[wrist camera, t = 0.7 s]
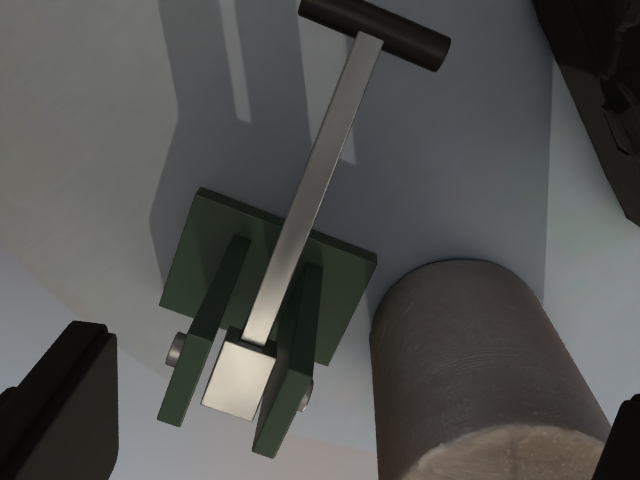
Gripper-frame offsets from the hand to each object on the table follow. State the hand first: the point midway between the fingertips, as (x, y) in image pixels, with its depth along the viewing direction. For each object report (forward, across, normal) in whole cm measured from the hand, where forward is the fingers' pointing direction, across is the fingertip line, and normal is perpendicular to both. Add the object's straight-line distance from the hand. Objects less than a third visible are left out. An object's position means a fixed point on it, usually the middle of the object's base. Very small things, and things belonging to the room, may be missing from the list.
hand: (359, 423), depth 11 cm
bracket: (+21, +4, +8) cm, 22 cm away
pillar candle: (+21, -7, +10) cm, 24 cm away
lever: (+15, +2, +2) cm, 15 cm away
